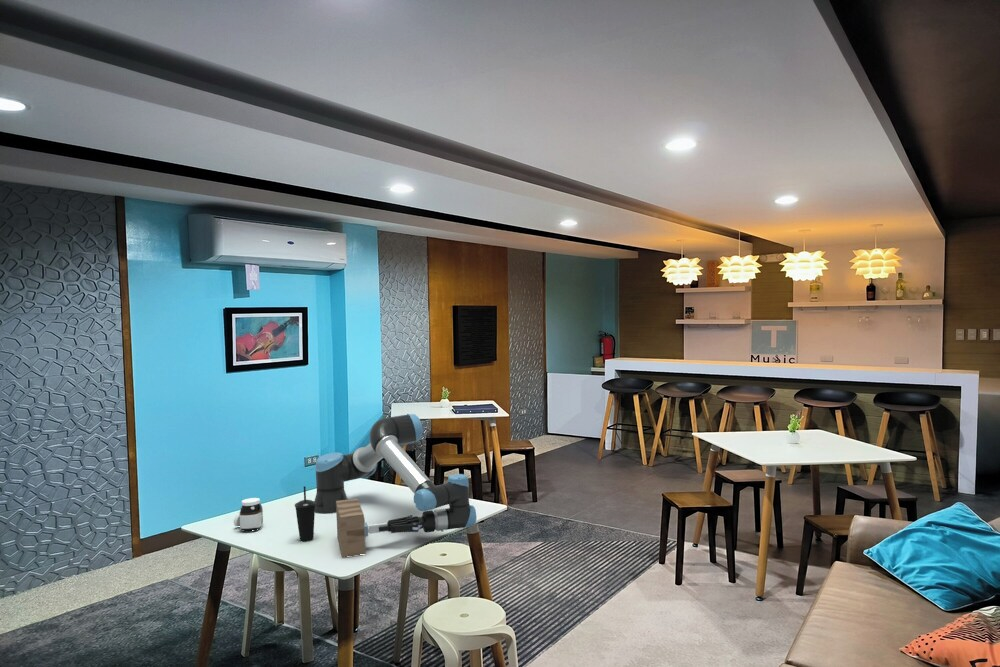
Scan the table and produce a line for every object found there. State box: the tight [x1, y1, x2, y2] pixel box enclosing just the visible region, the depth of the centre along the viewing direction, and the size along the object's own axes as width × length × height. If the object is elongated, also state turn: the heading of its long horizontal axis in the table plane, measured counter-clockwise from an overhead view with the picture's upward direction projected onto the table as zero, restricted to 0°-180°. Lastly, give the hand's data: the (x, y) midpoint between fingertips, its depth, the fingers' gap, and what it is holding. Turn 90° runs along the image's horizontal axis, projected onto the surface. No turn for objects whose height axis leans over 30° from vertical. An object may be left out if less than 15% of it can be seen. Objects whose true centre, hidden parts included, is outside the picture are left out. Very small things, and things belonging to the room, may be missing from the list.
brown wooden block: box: [335, 498, 366, 558], centre depth 230 cm, size 22×8×14 cm, turn 18°
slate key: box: [364, 521, 369, 538], centre depth 226 cm, size 5×6×4 cm
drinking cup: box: [294, 486, 316, 543], centre depth 239 cm, size 8×8×20 cm
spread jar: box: [233, 497, 264, 532], centre depth 255 cm, size 12×11×12 cm
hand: (369, 529), depth 227 cm, fingers closed
